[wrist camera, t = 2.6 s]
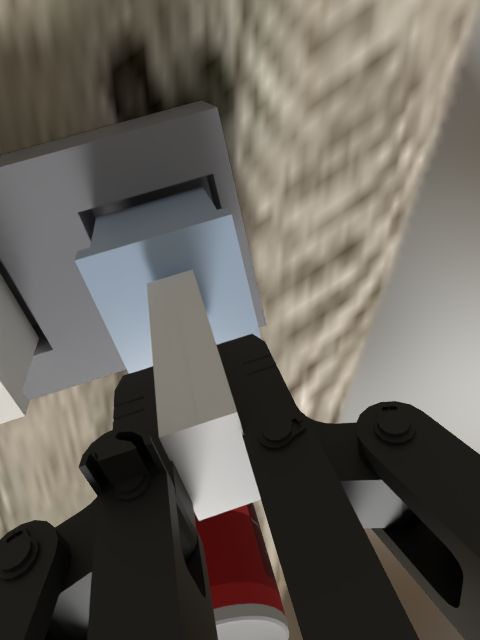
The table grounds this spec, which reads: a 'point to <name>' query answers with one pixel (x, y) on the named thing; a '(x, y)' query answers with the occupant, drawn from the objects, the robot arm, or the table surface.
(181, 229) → the slate blue key
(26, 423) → the table surface
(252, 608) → the canned food
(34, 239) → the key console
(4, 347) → the white key
